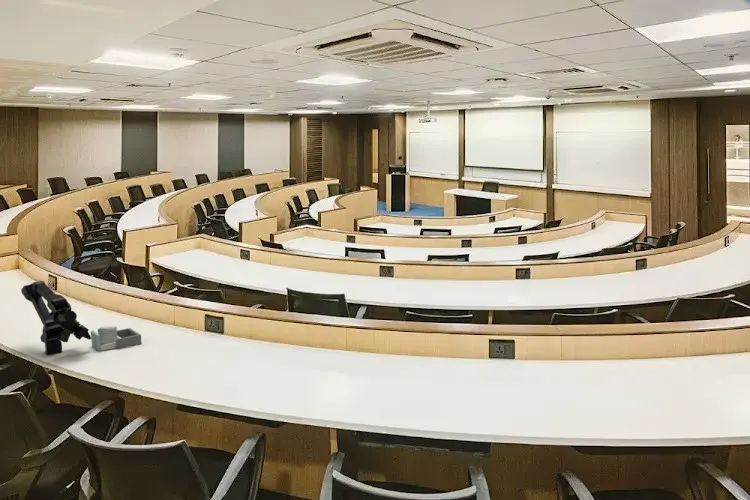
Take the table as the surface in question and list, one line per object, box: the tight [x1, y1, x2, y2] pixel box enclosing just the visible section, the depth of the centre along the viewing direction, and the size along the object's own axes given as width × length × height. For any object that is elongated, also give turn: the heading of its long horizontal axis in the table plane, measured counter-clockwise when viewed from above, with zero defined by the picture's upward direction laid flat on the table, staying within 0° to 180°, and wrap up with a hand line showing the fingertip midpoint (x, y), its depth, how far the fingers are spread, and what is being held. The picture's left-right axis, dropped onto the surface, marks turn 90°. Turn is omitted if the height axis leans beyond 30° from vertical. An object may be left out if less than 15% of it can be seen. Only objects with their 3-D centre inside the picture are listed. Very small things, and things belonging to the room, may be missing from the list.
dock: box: [115, 327, 142, 350], centre depth 290 cm, size 12×16×5 cm
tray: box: [90, 329, 120, 352], centre depth 284 cm, size 13×13×8 cm
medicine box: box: [97, 325, 118, 345], centre depth 284 cm, size 8×4×9 cm, turn 93°
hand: (90, 338), depth 278 cm, fingers closed
